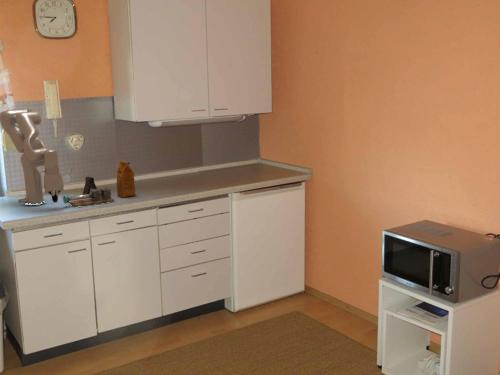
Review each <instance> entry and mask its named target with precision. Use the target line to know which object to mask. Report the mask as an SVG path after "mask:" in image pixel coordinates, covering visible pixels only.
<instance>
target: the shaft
mask: <svg viewBox="0 0 500 375" xmlns="http://www.w3.org/2000/svg"><path fill="white" fill-rule="evenodd" d="M93 197H94V194H91V193H90V194H86V195H83V194H81V195H80V194H79V195H73V196H69V195H63V196H62V199H63V203H64V204H69V202H70V201H77V200H84V199H90V198H93Z"/></svg>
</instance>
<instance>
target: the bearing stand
mask: <svg viewBox="0 0 500 375" xmlns="http://www.w3.org/2000/svg"><path fill="white" fill-rule="evenodd" d="M111 190H112V189H111V188H109V187H100V188H97V189H90V194H94V197H93V198H86V199H79V200H73V201H69V203H70V204H71V205H72V206H74V207H78V206H85V207H87V206H86V205H92V206H95V205H94V204H98V205H102V204H101V203H104V204H108V203H107V202H111V203H115V202H114V201H115V199H114V198H112V191H111ZM69 203H68V204H69ZM71 205H70V206H71ZM72 206H71V207H72ZM74 207H73V208H74Z"/></svg>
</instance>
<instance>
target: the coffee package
mask: <svg viewBox="0 0 500 375" xmlns="http://www.w3.org/2000/svg"><path fill="white" fill-rule="evenodd" d="M129 165H130V162H128V161H124V160H122V159H121V160H120V162H119V165H118V168H117V171H116V172H117V173H116V191H117V196H119V197H120V198H127V197H133V196H135V195H136V185H135V173H134V171H133V170H132V168H131V167H130V166H129Z"/></svg>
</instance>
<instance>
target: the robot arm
mask: <svg viewBox="0 0 500 375" xmlns="http://www.w3.org/2000/svg"><path fill="white" fill-rule="evenodd" d="M41 123H42V116H41V115H40V113H39V112H38V111H36V110H32V109H29V108H14V109H7V110H3V111H2V112H1V113H0V125H1V127H2V129H3V130H4V131H5V132H6V134H7V135H8V136H9V138H10V140H11V142H12V143H13V146H14V147H15V148H16V150H17V151H18V153H20V154H21V156H20V159H19V160H20V164H21V166H22V170H23V171H22V172H23V177H24V178H23V179H24V185H25V186H24V188H25V196H24V198H19V199H18V203H23V204H24V203H25V202H26V203H28V204H29V203H31V204H36V203H38V204H40V203H41V202H42V203H44V202H43V201H44V200H45V199H44V193H45V194H50V196H51V201H52V202H53V203H58V201H59V197H58V196H59V194H60V193H61V192H64V190H65V189H64V188H65V187H64V186H65V185H64V180H63V175H62V172H61V171H60V167H59V156H58V151H57V149H54V148H50V147H47V146H46V144H45V142H44V141H43V139H42V138H41V137H40V136H39V135H40V131H39V129H38V127H37V126H38V125H41ZM43 166H44V169H42V173H44V175H43V180H42V174H41V171H39V169H38V168H39V167H43ZM43 188H44V190H43ZM43 191H44V192H43ZM46 201H47V200H46ZM46 201H45V202H46Z"/></svg>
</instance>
